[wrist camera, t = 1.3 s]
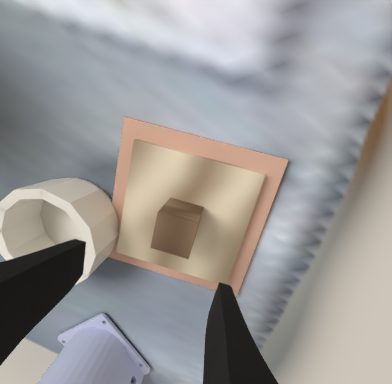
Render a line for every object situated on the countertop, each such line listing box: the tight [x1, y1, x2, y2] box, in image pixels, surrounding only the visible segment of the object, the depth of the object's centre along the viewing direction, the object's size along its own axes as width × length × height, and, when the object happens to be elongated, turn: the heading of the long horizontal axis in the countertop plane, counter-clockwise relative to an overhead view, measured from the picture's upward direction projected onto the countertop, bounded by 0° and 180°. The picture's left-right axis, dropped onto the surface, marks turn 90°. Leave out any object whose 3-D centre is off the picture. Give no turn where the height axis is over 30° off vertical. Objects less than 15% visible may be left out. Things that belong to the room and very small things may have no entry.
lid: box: [117, 139, 265, 284], centre depth 18 cm, size 11×11×4 cm
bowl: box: [0, 177, 119, 285], centre depth 20 cm, size 9×9×4 cm
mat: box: [108, 117, 288, 297], centre depth 20 cm, size 14×14×1 cm
